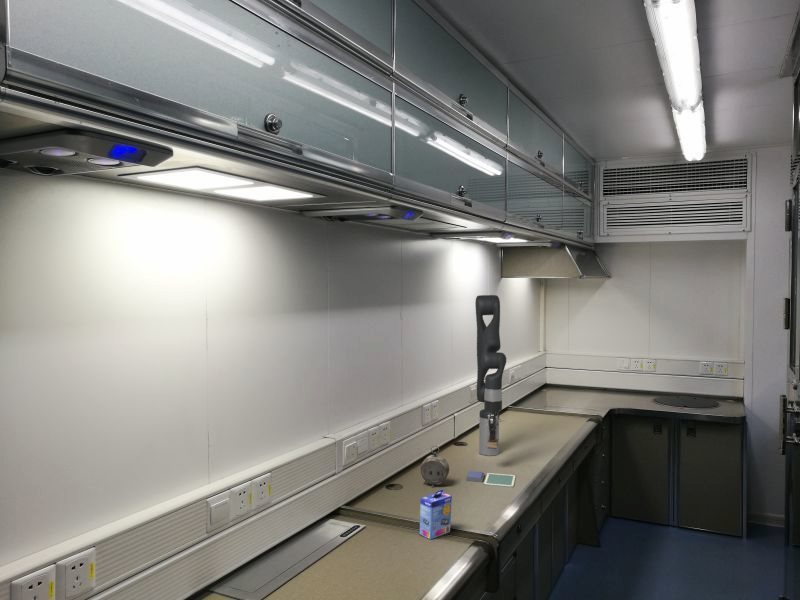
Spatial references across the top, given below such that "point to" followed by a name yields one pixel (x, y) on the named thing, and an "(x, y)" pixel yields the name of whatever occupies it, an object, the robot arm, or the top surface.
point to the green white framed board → (499, 480)
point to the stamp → (493, 443)
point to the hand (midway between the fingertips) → (492, 438)
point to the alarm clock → (434, 469)
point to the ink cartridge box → (435, 514)
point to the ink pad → (475, 476)
